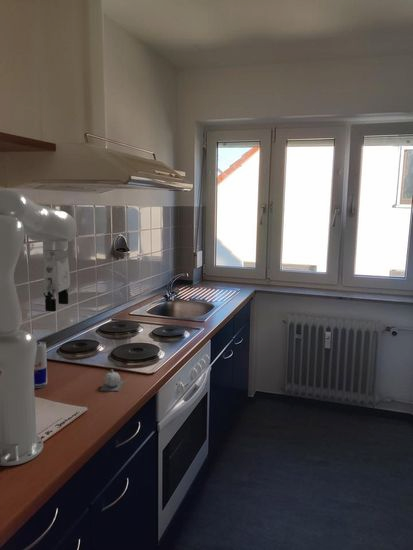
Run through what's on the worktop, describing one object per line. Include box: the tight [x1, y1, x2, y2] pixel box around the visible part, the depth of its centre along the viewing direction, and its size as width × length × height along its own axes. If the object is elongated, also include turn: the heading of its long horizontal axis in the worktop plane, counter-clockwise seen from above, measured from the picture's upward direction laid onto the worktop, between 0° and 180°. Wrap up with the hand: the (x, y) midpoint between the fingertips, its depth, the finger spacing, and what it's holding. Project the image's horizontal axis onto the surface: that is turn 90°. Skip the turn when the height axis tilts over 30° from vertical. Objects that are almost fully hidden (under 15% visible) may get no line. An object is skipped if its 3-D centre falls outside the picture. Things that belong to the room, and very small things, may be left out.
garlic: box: [103, 369, 121, 387], centre depth 147 cm, size 6×5×5 cm
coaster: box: [100, 380, 125, 392], centre depth 147 cm, size 8×6×1 cm
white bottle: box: [34, 341, 48, 389], centre depth 145 cm, size 5×5×15 cm
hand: (57, 307), depth 139 cm, fingers open, 9 cm apart
